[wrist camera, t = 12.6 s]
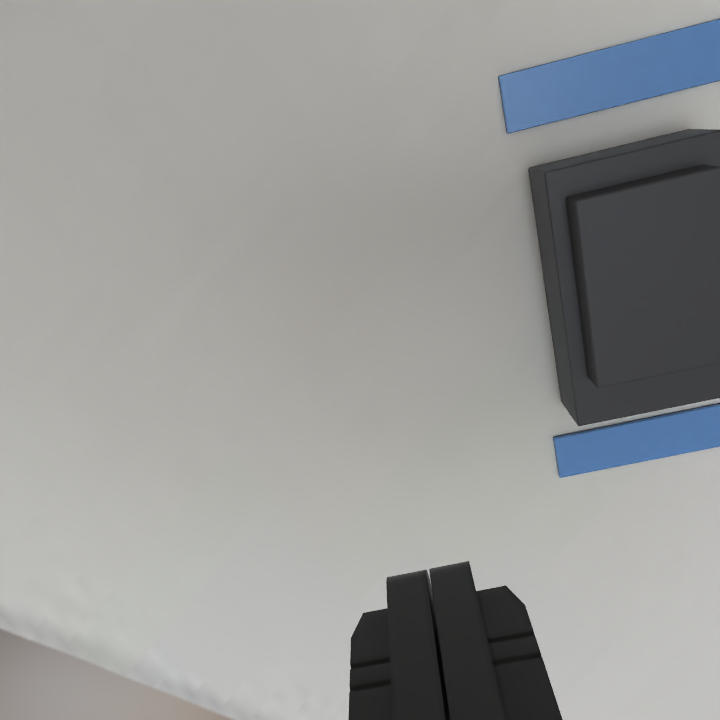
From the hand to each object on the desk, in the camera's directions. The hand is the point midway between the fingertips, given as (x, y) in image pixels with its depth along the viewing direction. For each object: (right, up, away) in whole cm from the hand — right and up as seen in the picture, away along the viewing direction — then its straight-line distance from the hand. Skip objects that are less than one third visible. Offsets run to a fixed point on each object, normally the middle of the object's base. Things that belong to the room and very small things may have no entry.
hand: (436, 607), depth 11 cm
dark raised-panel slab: (+9, +8, +14) cm, 19 cm away
